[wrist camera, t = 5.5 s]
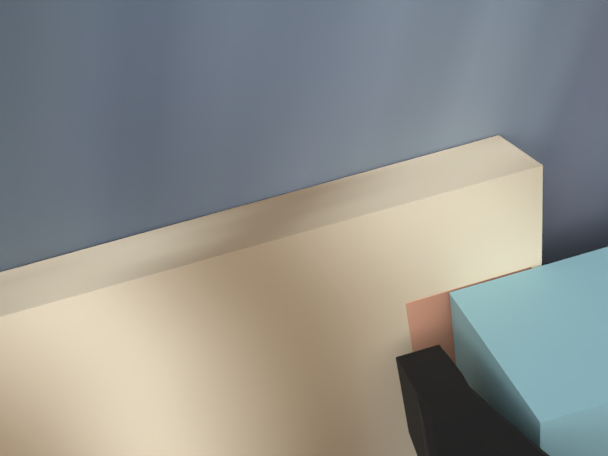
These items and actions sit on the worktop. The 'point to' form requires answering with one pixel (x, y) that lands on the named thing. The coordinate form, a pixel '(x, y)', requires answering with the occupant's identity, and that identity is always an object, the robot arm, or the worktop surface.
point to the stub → (541, 351)
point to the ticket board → (262, 315)
